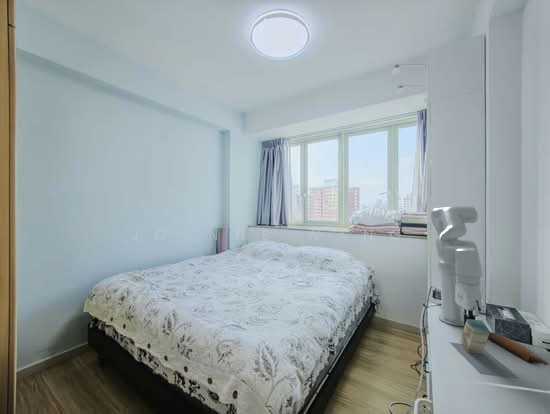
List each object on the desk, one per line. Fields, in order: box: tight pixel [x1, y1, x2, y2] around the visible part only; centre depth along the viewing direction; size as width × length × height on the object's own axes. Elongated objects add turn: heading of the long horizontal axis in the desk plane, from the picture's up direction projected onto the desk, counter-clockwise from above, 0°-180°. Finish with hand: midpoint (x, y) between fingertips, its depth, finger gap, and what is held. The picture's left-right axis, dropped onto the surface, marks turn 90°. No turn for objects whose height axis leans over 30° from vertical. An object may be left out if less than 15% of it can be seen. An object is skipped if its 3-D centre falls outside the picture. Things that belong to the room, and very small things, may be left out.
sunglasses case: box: [487, 331, 550, 366], centre depth 91 cm, size 18×7×7 cm
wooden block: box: [460, 319, 491, 354], centre depth 89 cm, size 5×5×12 cm
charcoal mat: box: [449, 341, 520, 380], centre depth 86 cm, size 20×11×1 cm, turn 167°
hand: (469, 325), depth 92 cm, fingers closed
